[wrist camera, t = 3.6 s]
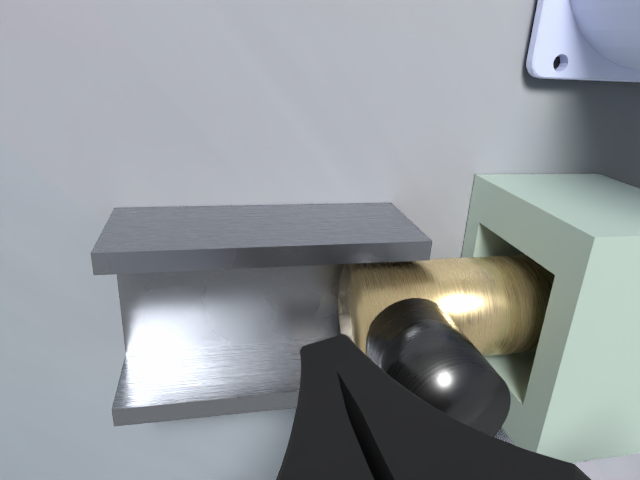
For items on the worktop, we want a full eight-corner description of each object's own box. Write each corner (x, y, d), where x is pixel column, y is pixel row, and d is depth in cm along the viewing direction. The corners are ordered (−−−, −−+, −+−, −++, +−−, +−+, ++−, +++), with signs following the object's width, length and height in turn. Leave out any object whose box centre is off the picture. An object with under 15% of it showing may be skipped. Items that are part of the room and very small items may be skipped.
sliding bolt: (581, 237, 18) (753, 331, 12) (561, 314, 19) (709, 431, 14) (341, 246, 16) (413, 361, 11) (336, 330, 18) (397, 474, 12)
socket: (598, 173, 19) (759, 231, 13) (553, 342, 21) (672, 448, 16) (475, 174, 18) (594, 237, 12) (445, 352, 20) (532, 468, 15)
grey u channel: (391, 202, 17) (432, 241, 14) (376, 336, 19) (410, 395, 16) (114, 207, 15) (90, 253, 12) (131, 355, 17) (113, 426, 14)
